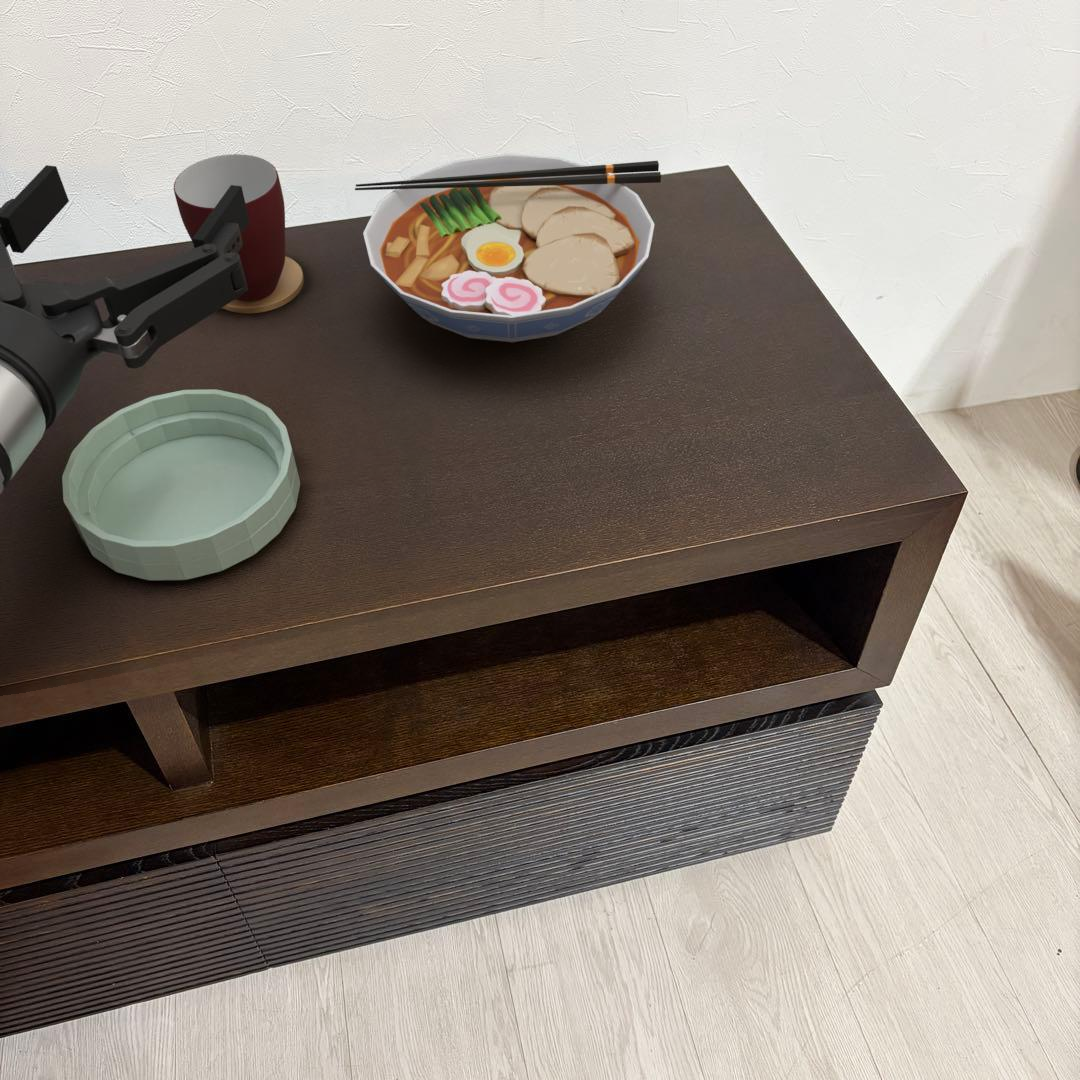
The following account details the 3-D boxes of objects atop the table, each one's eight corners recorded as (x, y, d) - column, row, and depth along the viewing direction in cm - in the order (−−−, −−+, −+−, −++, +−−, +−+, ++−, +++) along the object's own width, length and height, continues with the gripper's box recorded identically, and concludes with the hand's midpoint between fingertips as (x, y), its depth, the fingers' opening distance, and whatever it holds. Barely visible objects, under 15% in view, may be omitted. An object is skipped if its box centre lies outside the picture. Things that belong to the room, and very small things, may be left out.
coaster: (215, 321, 90) (213, 316, 90) (203, 268, 96) (202, 262, 95) (311, 302, 92) (310, 296, 92) (295, 251, 97) (294, 245, 97)
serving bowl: (87, 610, 70) (66, 571, 67) (77, 457, 80) (58, 415, 77) (318, 553, 73) (308, 513, 70) (281, 412, 83) (271, 370, 80)
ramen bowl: (351, 401, 84) (334, 313, 78) (371, 233, 99) (359, 148, 93) (677, 390, 84) (686, 302, 78) (648, 224, 99) (653, 139, 93)
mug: (222, 244, 97) (194, 137, 89) (312, 244, 97) (292, 138, 89) (194, 317, 90) (161, 208, 82) (291, 317, 90) (267, 209, 82)
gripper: (-176, 413, 67) (4, 221, 80) (208, 469, 63) (327, 259, 77) (-243, 312, 61) (-38, 125, 75) (174, 368, 58) (310, 161, 71)
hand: (148, 192), depth 76 cm, fingers open, 13 cm apart
